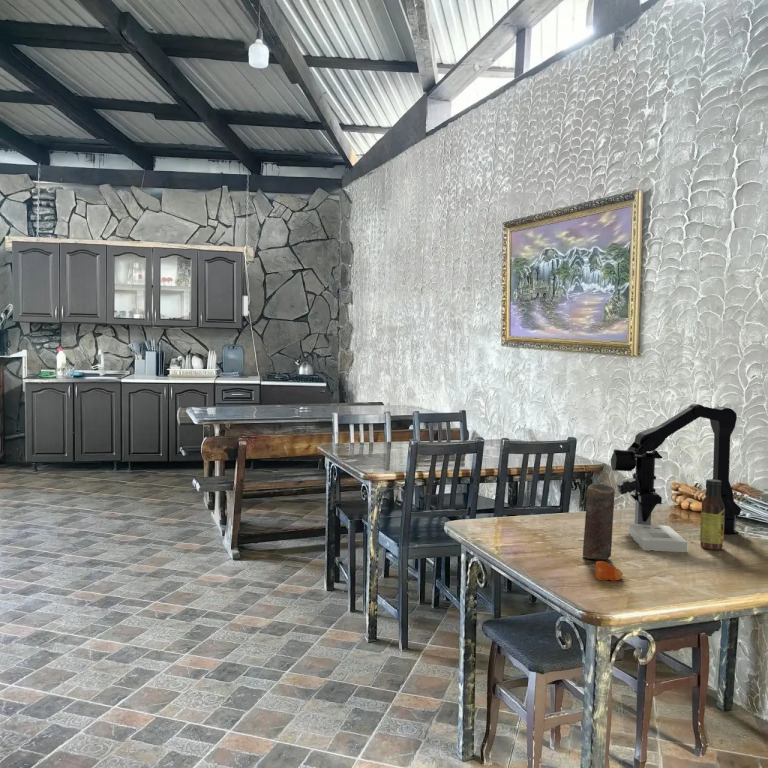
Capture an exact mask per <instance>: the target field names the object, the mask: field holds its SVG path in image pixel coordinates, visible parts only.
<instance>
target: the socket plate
mask: <svg viewBox="0 0 768 768" xmlns="http://www.w3.org/2000/svg"><path fill="white" fill-rule="evenodd" d="M627 534H628V535H629V534H630V535H631V536H632V537H633V538H632V537H631V536H630V535H629V536H630V537H631V538H632V539H633V540H634V542H636V544H637V543H638V544H639V545H638V544H637V545H638V546H639V547H640V548H641V550H643V551H650V550H654V552H671V553H687V552H688V541H687V540H685V539H684V538H683V537H682V536H681V535H680V534H679V533H677V532H676V531H675V530H674V529H673V528H672V527H671V526H669V525H656V524H651V525H641V524H635V523H629V524H628V533H627Z"/></svg>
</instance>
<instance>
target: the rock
mask: <svg viewBox="0 0 768 768" xmlns="http://www.w3.org/2000/svg"><path fill="white" fill-rule="evenodd" d="M595 564H596V565H595V567H594V568H595V575H594V576H595V579H597V580H598V581H608V580H609V581H613V582H614V581H619V580H621V578H622V577H623V575H624V573H623V572H622V570H621V569H619V568H616V567H615V566H612V565H610V564H609V563H607V562H606V561H605V560H603V561H600V560H596V562H595Z"/></svg>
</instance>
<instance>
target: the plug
mask: <svg viewBox="0 0 768 768" xmlns="http://www.w3.org/2000/svg"><path fill="white" fill-rule="evenodd" d="M634 505H635V506H634V509H635V510H634V524H641V525H652V513H651V514H650V516H649V518H648V520H647V521H646V522H643V520H642V512H641V505H640V504H639V503H638V502H637V501H635V504H634Z"/></svg>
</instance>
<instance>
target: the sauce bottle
mask: <svg viewBox="0 0 768 768" xmlns="http://www.w3.org/2000/svg"><path fill="white" fill-rule="evenodd" d="M706 485H707V492H706V491H705V493H706V494H707V495H706V496H705V497H704V498H703V499H702V501H701V511H700V530H699V532H700V534H699V535H700V536H699V538H700V539H699V541H700V546H701V547H702V548H704V549H706V550H712V551H713V550H715V551H719V550H722V549H723V546H724V545H723V544H724V538H725V537H724V536H725V535H724V534H725V533H724V513H725V508H724V504H723V501H722V498H721V494H720V490H721V481H720V480H714V479H713V478H712V479H711V478H710V479H706V480H705V486H706Z"/></svg>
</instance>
